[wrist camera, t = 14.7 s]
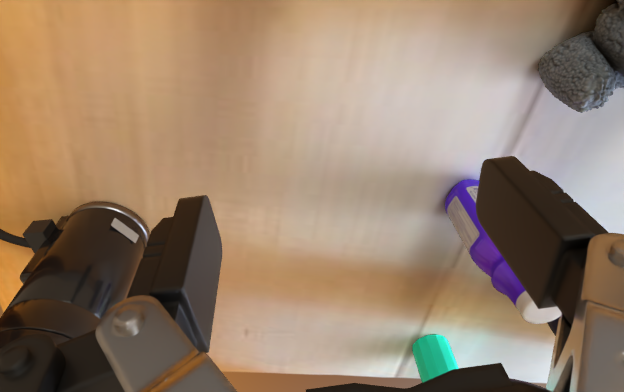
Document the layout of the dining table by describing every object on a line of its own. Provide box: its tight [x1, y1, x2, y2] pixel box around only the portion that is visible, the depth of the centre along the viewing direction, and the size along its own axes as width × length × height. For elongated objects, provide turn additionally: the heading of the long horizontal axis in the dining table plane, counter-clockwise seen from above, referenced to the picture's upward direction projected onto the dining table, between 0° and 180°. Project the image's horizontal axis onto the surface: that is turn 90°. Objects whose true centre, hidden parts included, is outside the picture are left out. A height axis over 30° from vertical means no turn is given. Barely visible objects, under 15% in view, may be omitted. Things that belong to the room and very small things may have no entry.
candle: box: [412, 334, 459, 383], centre depth 62 cm, size 6×6×12 cm
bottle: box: [445, 180, 562, 324], centre depth 42 cm, size 7×6×17 cm
